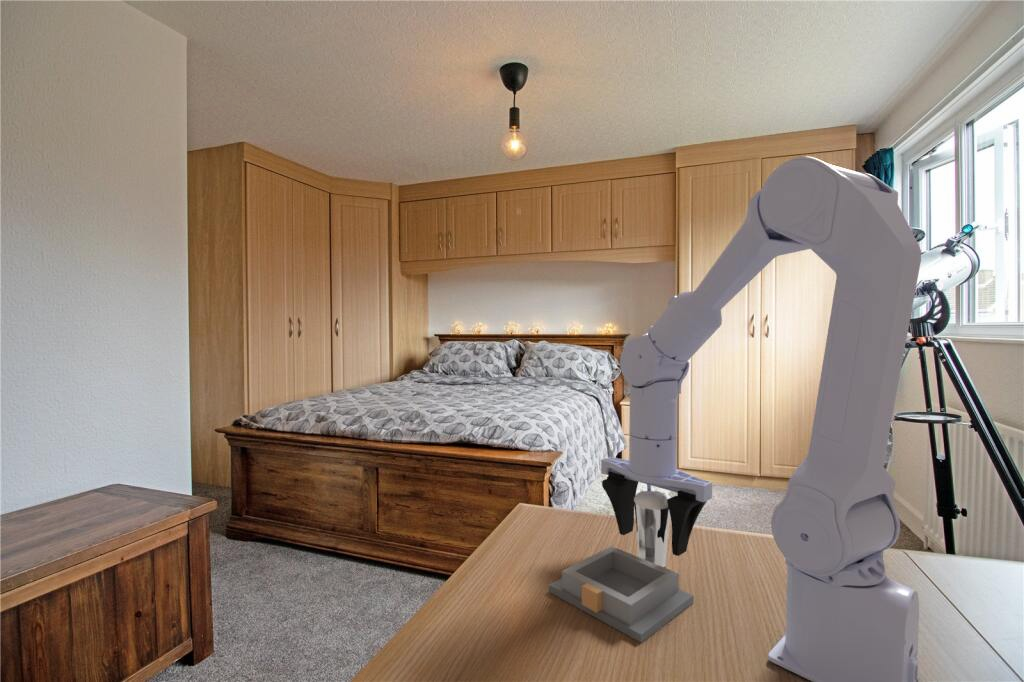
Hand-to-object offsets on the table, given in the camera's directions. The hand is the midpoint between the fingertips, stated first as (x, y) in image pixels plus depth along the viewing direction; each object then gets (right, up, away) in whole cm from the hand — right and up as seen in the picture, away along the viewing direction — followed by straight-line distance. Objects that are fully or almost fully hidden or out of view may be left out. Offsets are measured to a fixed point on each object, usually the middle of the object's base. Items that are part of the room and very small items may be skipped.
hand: (651, 542), depth 63 cm
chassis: (-6, -3, -8) cm, 10 cm away
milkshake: (0, -3, 0) cm, 3 cm away
